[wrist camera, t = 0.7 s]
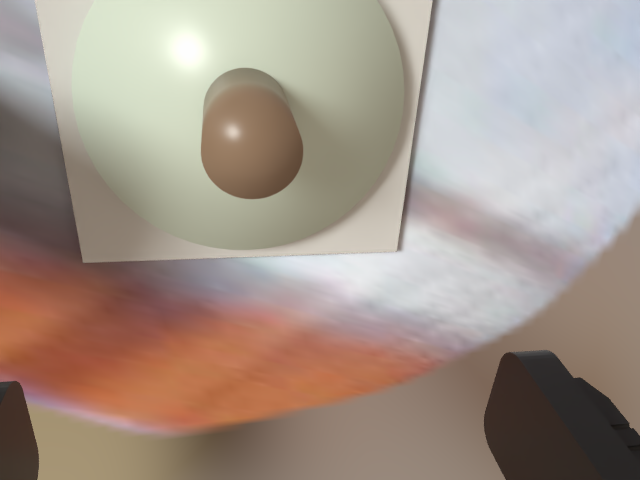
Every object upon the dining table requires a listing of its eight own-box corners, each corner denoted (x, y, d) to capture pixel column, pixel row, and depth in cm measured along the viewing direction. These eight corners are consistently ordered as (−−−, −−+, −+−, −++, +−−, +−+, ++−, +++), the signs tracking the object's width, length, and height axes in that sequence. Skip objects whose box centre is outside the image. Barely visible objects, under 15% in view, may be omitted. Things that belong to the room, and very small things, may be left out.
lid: (418, -67, 23) (477, -61, 17) (380, 235, 30) (415, 303, 24) (47, -89, 20) (-10, -89, 15) (101, 244, 27) (75, 321, 22)
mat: (441, -94, 23) (446, -94, 22) (394, 246, 31) (396, 251, 30) (16, -124, 20) (11, -125, 20) (84, 257, 28) (83, 262, 28)
